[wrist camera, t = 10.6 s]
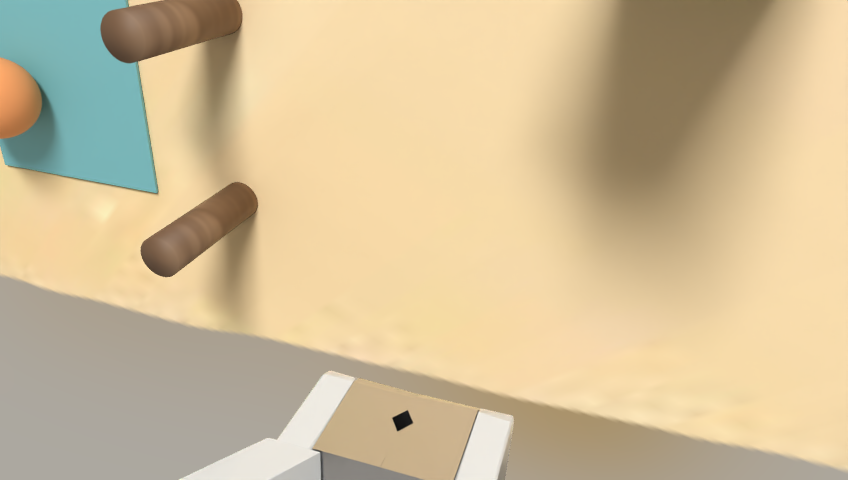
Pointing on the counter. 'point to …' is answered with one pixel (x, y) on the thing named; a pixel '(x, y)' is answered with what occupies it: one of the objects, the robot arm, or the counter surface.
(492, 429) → the robot arm
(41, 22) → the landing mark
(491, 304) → the counter surface
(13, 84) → the ball
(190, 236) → the post
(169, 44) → the post
